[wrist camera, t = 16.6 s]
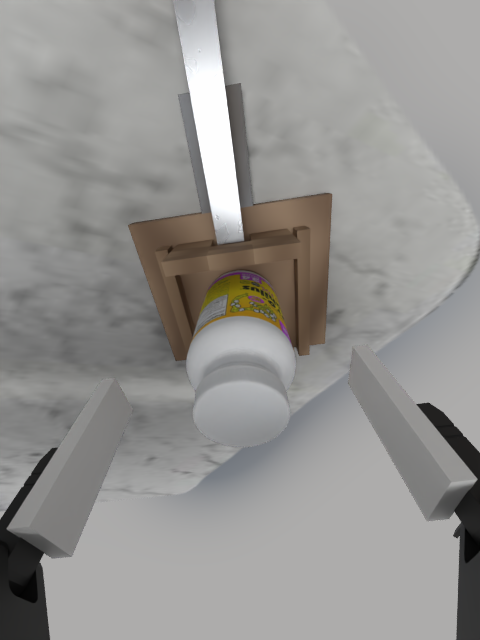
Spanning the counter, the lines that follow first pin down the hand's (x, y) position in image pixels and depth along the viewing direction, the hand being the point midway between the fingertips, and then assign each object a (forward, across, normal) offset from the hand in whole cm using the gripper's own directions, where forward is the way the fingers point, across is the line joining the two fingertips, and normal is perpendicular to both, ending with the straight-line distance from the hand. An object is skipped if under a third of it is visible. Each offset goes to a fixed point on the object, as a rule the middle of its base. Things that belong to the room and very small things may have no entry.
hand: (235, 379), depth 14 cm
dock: (+12, +1, +4) cm, 12 cm away
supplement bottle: (+10, +1, 0) cm, 11 cm away
